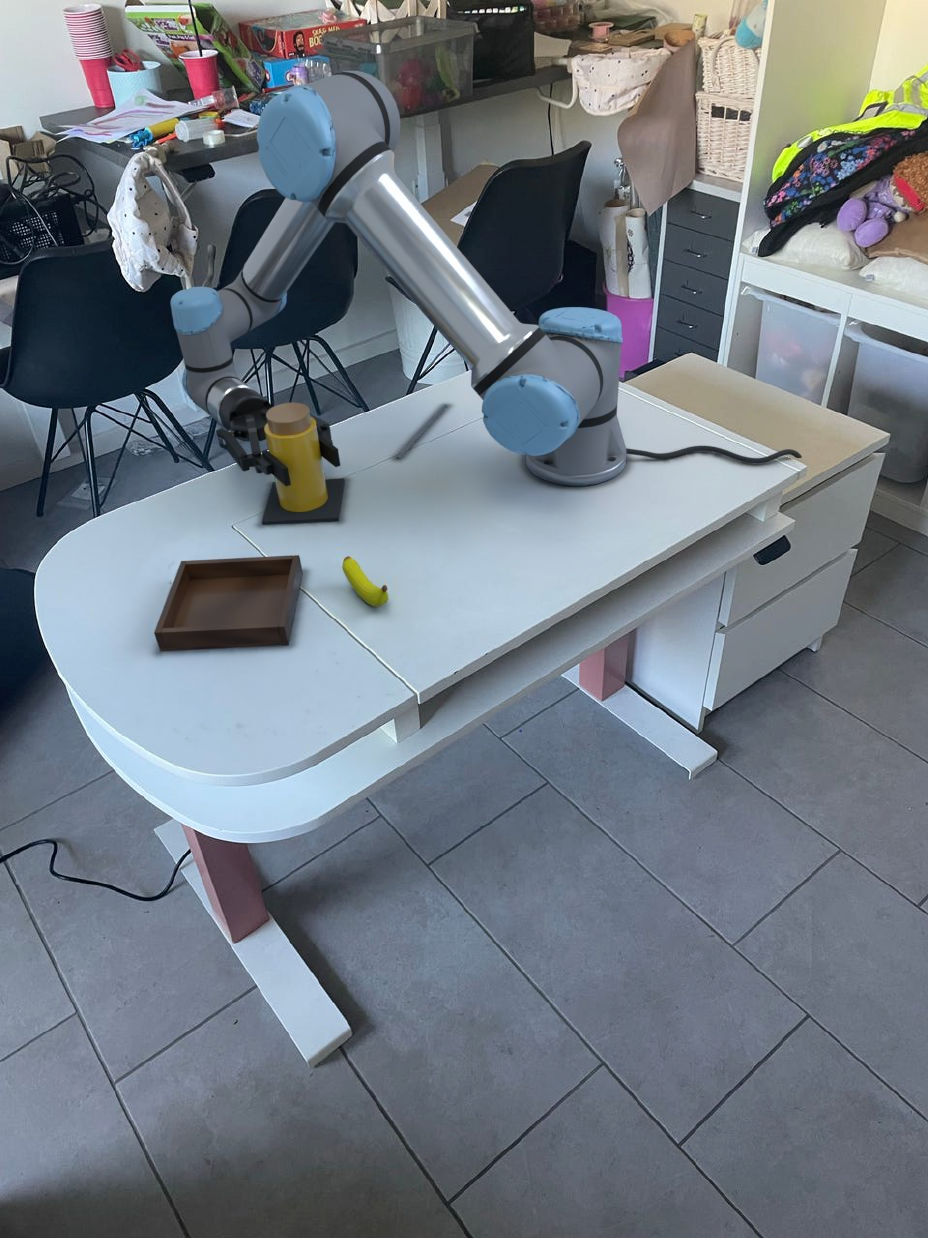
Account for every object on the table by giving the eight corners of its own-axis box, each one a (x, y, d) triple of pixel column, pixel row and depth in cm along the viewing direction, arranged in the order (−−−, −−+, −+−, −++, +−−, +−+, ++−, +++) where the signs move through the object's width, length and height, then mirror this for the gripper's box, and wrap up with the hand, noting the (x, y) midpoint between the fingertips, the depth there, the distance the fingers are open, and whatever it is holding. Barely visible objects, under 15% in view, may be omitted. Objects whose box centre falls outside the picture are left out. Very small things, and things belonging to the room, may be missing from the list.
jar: (330, 484, 137) (316, 399, 128) (325, 510, 131) (310, 423, 122) (282, 487, 137) (265, 401, 128) (276, 513, 131) (257, 425, 122)
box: (303, 573, 121) (299, 554, 119) (288, 645, 109) (284, 626, 107) (186, 579, 121) (180, 560, 119) (160, 651, 110) (153, 632, 108)
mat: (345, 481, 138) (344, 477, 138) (338, 521, 130) (338, 517, 130) (273, 485, 139) (272, 481, 138) (262, 525, 130) (261, 521, 130)
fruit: (397, 615, 113) (393, 583, 110) (382, 622, 112) (378, 590, 109) (356, 577, 119) (351, 546, 116) (342, 583, 118) (336, 552, 115)
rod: (448, 407, 157) (448, 404, 156) (400, 460, 143) (400, 456, 143) (444, 406, 157) (444, 403, 156) (396, 459, 143) (396, 455, 143)
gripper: (302, 412, 147) (376, 467, 133) (186, 453, 139) (251, 515, 124) (294, 369, 143) (370, 420, 128) (174, 407, 134) (240, 467, 119)
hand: (312, 467), depth 126 cm, fingers closed on jar, 7 cm apart
